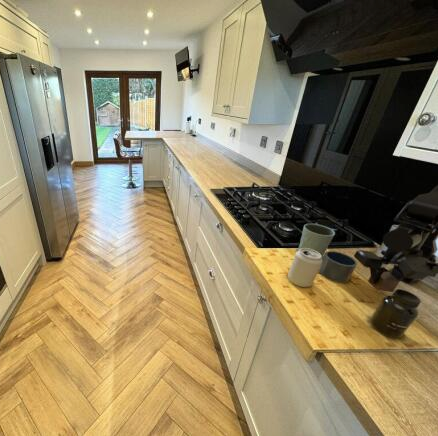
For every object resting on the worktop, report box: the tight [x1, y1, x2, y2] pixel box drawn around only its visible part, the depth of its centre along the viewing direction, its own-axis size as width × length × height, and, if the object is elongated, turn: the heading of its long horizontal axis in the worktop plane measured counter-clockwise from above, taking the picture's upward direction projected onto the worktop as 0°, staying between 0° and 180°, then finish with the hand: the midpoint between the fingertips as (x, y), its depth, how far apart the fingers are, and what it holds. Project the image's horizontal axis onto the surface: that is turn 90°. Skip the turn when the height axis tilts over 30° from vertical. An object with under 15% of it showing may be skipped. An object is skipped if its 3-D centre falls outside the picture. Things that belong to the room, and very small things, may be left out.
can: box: [287, 248, 323, 288], centre depth 79 cm, size 8×8×12 cm
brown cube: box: [367, 272, 401, 293], centre depth 74 cm, size 4×4×4 cm
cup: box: [318, 250, 358, 283], centre depth 84 cm, size 9×9×7 cm
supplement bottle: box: [369, 288, 422, 339], centre depth 63 cm, size 7×7×12 cm
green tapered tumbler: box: [297, 223, 336, 259], centre depth 94 cm, size 10×10×12 cm
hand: (381, 283), depth 74 cm, fingers closed on brown cube, 4 cm apart
